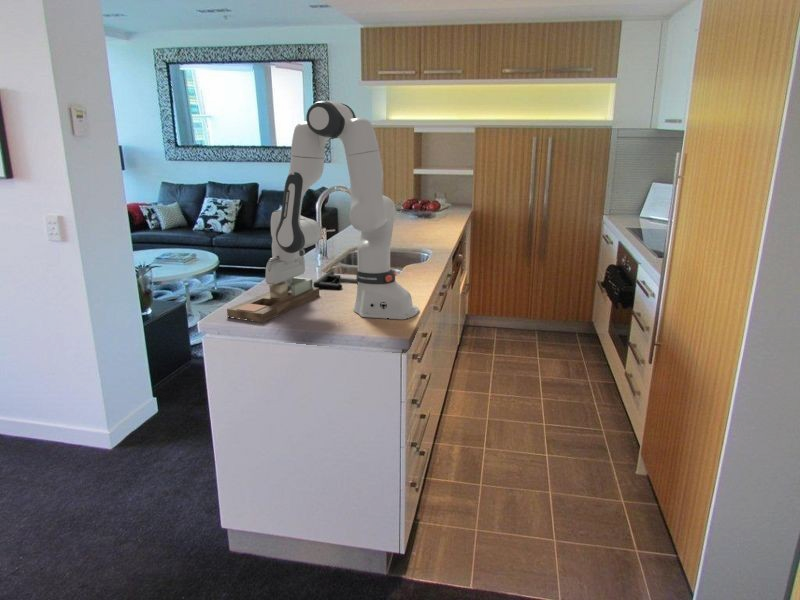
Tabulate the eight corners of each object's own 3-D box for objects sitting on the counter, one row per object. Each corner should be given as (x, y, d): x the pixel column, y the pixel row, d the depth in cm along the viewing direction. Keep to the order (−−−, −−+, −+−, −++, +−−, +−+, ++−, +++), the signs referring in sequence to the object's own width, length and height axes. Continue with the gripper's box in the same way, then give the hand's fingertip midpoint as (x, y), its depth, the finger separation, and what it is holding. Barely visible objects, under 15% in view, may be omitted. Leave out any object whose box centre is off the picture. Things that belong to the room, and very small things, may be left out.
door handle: (361, 274, 244) (325, 270, 247) (349, 285, 226) (309, 281, 228) (361, 281, 245) (325, 277, 248) (349, 294, 227) (309, 289, 229)
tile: (267, 306, 194) (266, 305, 194) (254, 312, 188) (254, 311, 188) (249, 304, 196) (249, 303, 196) (236, 309, 190) (236, 308, 190)
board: (319, 295, 219) (319, 287, 218) (263, 322, 187) (262, 313, 186) (287, 291, 224) (287, 284, 223) (227, 317, 192) (226, 309, 191)
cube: (288, 295, 208) (287, 283, 206) (280, 298, 204) (280, 286, 202) (277, 294, 209) (276, 282, 208) (270, 297, 205) (269, 284, 204)
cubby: (312, 288, 218) (312, 278, 217) (295, 295, 207) (294, 286, 206) (290, 285, 221) (290, 276, 220) (272, 293, 211) (272, 283, 210)
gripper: (275, 260, 196) (277, 299, 200) (307, 249, 215) (308, 285, 218) (259, 258, 199) (262, 297, 202) (292, 248, 217) (294, 284, 221)
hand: (286, 291), depth 211 cm, fingers closed
